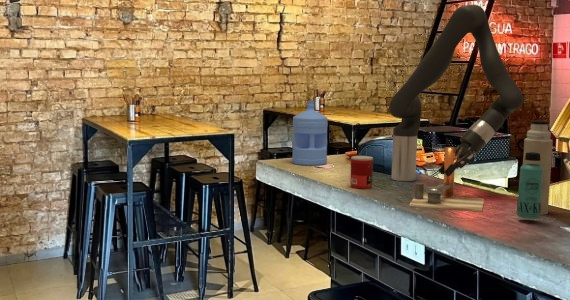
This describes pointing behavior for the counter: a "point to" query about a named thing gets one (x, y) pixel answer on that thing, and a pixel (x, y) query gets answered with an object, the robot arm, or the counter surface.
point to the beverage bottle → (530, 188)
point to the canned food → (361, 172)
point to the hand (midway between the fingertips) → (443, 173)
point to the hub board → (445, 201)
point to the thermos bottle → (541, 144)
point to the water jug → (310, 137)
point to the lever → (448, 184)
